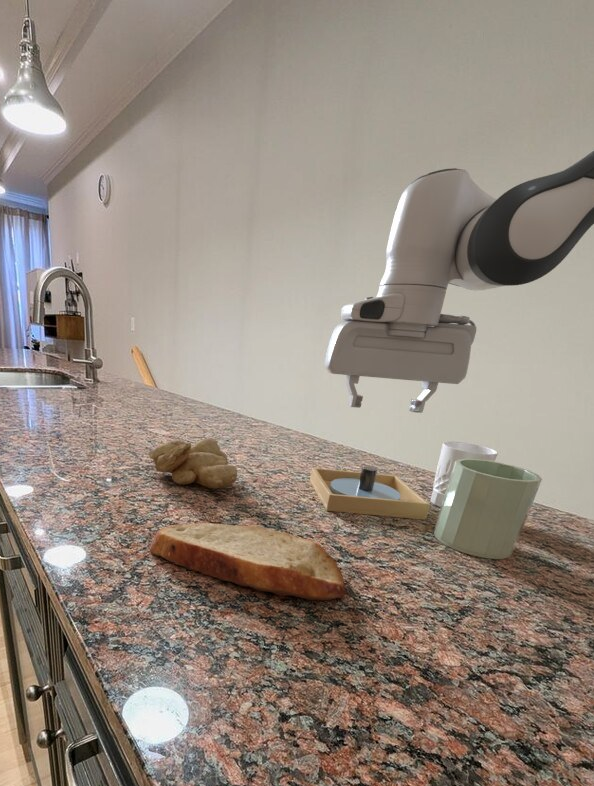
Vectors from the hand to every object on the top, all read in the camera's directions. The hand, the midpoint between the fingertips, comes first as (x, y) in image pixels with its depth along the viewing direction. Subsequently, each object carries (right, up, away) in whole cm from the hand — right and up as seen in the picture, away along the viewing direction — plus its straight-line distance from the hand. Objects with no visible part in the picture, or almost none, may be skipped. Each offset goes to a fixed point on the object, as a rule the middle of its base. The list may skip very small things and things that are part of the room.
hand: (384, 409), depth 69 cm
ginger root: (-30, -10, +7) cm, 33 cm away
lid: (-1, -12, +5) cm, 14 cm away
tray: (-1, -14, +6) cm, 15 cm away
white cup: (+14, -15, +7) cm, 21 cm away
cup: (+9, -20, -7) cm, 23 cm away
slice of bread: (-23, -22, -19) cm, 37 cm away
